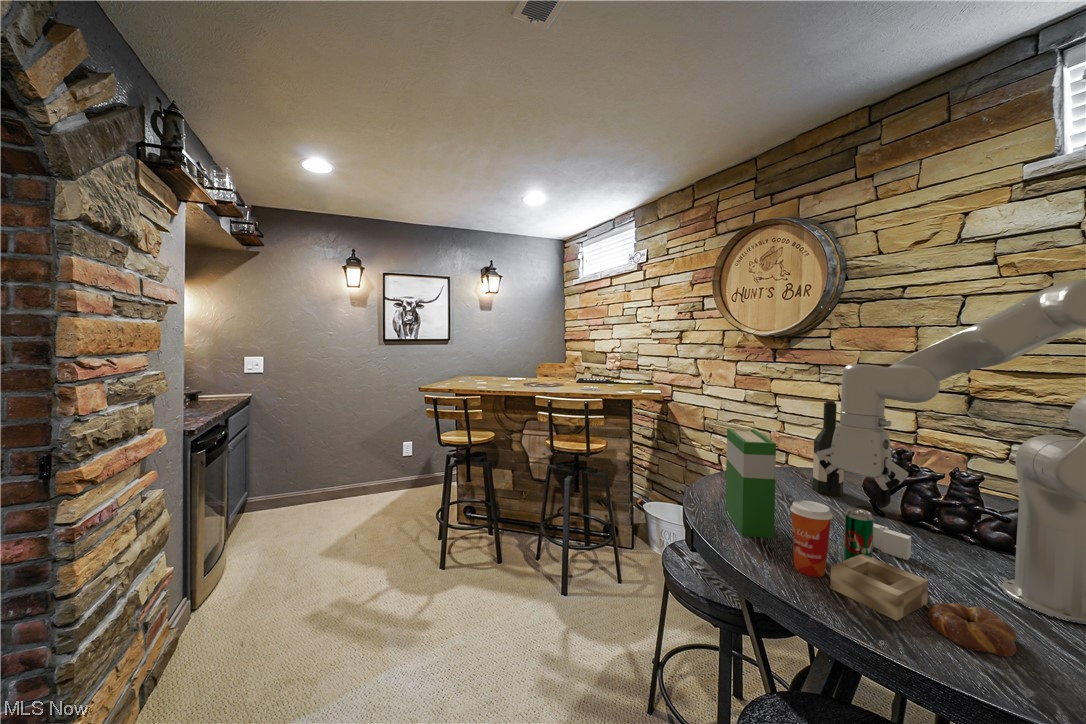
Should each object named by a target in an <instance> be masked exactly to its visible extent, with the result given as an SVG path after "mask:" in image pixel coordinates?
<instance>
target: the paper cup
mask: <svg viewBox="0 0 1086 724" xmlns="http://www.w3.org/2000/svg"><path fill="white" fill-rule="evenodd" d="M789 509H790V511H791V524H792V528H791V529H792V551H793V565H794V569H795V570H796V571H797V572H799V573H801V574H802V575H805V576H808V577H813V578H821V577H824V576H825V574H826V567H827V558H828V551H829V550H828V549H829V540H830V539H829V538H830V529H831V520H832V519H833V517H834V515H833V514H832V512H831V509H830V507H828V506H827V505H825V504H823V503H819V502H816V501H812V500H802V499H801V500H798V501H797V500H796V501H793V502H792V504H791V506H790V507H789Z"/></svg>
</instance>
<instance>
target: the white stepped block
mask: <svg viewBox="0 0 1086 724" xmlns="http://www.w3.org/2000/svg"><path fill="white" fill-rule="evenodd" d="M873 548H874V549H875V548H876V549H878V550H879V551H880V550H881V551H880V552H881V553H885V554H887V555H890V556H894V557H896V558H899V559H902V558H903V559H902V560H905V561H908V560H909V559H911V556H912V554H911V553H912V552H911V551H912V536H911V535H908V534H905V533H901V532H899V531H898V532H897V531H895V530H891V529H889V527H887V526H885V525H884V526H883V525H880V524H877V523H874V526H873Z"/></svg>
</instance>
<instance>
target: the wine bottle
mask: <svg viewBox="0 0 1086 724" xmlns="http://www.w3.org/2000/svg"><path fill="white" fill-rule="evenodd" d="M837 406H838V405H837V403H836V400H829V399H828V400H825V402H824V403H823V425H822V426H823V428H822V429H821V430H820V432H819V433H818V434H817V436H816V437H815V438H814V440H813V458H812V460H813V461H812V462H813V464H812V466H813V467H812V468H813V469H812V490H813V491H814V492H816V493H818V494H821V495H826V496H831V497H834V496H835V497H841V496H842V495H843V494H844V473H845V472H844V470H841V469H840V470H838V471H837V473H839V489H838V491H834V492H828V491H827V488H828V487H827V485H826V484H827V474H826V473H825V470H824V468H823V467H822V466H821V464H820V460H819V459H818V457H817V454H816V452H817V451H821V450H825V449H829V448H831V445H832V439H833V435H834V432H835V429H836V426H837V409H838V408H837ZM826 457H827V460H828V461H829V462H830V454H829V455H827V456H826Z"/></svg>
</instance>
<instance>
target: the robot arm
mask: <svg viewBox="0 0 1086 724" xmlns="http://www.w3.org/2000/svg"><path fill="white" fill-rule="evenodd" d="M1084 329H1086V278H1082V279H1081V278H1080V279H1077V280H1072V281H1067V282H1061V283H1056V284H1054V285H1051V286H1048V287H1046V288H1044V289H1042V290H1040V291H1038V292H1036V293H1034V294H1032V295H1030V296H1028V297H1026V298H1024V299H1022V300H1020V301H1018V302H1017V303H1014V304H1012V305H1010V306H1009V307H1007V308H1005V309H1003V310H1001V311H1000V312H997V313H996V314H993V315H991V316H989V317H988V318H985V319H983V320H981V321H979V322H978V323H975V324H973V325H972V326H969V327H967V328H965V329H963V330H961V331H958V332H957V333H954V334H952V335H950V336H948V337H947V338H943V339H942V340H939V341H937V342H936V343H933V344H931V345H929V346H927V347H924V348H922V349H920V350H918V351H916V352H913V353H912V354H910V355H908V356H906V357H904V358H902V359H901V360H899V361H897V362H895V363H893V364H892V365H889V366H888V367H887V366H886V367H884V366H881V365H876V364H863V363H862V364H861V363H860V364H859V363H857V364H856V363H853V364H847V365H846V366H844V368H843V371H842V380H841V381H842V382H841V383H842V384H841V398H840V399H841V401H840V412H839V423H838V424H837V423H836V429H835V432H834V435H833V439H832V445H831V448H829V449H825V450H821V451H817V452H816V454H817V457H818V459H819V460H820V464H821V466H822V467H823V468H824V470H825V473H826V474H827V484H826V485H827V487H828V488H827V491H828V492H834V491H838V489H839V473H837V471H838V470H840V469H841V470H844V471H845V472H849V473H853V474H856V475H860V476H865V477H867V478H872V479H874V480H875V482H876V483H877V484H878V486H879V488H878V489H877V490H876V500H875V501H876V502H875V503H876V504H875V506H876V507H877V508H878V509H883V508H886V507H888V506H889V505H890V503H891V496H892V489H894V488H896V487H898V486H899V485H901V484H903V482H904V481H905V480H906V479H907V477H908V476H909V472H908V471H907V470H906V469H904V468H902V467H901V466H899V465H898V464H896V463H895V462H893V460H892V448H891V440H890V433H889V431H888V430H885V429H884V428H885V427H888V428H891V426H892V421H891V420H890V419H889V420H888V419H886V416H885V407H886V406H885V405H886V400H893V401H898V402H904V403H909V404H921V403H926V402H928V401H931V400H932V399H934V398H935V397H936V396H937V395H938V394H939V392H940V389H941V383H940V382H942V381H944V380H946V379H949V378H952V377H953V376H956V375H959V374H962V373H966V372H969V371H973V370H978V369H979V370H980V369H984V368H990V367H994V366H999V365H1002V364H1005V363H1009V362H1011V361H1013V360H1015V359H1017V358H1020V357H1022V356H1023V355H1026V354H1028V353H1029V352H1031V351H1033V350H1036V349H1038V348H1040V347H1042V346H1045V345H1046V344H1049V343H1051V342H1054V341H1055V340H1057V339H1060V338H1062V337H1064V336H1066V335H1068V334H1071V333H1073V332H1075V331H1077V330H1084ZM1068 415H1069V421H1070V424H1071V425H1072V427H1074V428H1075V429H1076V430H1077V431H1079V432H1080V433H1082V434H1084V435H1085V436H1084V437H1083V438H1081V439H1076V438H1073V437H1069V436H1067V435H1066V436H1065V435H1058V434H1041V435H1037V436H1034V437H1031V438H1028V439H1027V440H1026V441H1024V442H1022V444H1020V446H1019V447H1018V449H1017V451H1016V453H1015V454H1016V455H1015V471H1016V472H1015V473H1016V479H1017V484H1018V485H1017V486H1018V512H1017V513H1018V514H1017V524H1016V526H1017V528H1016V529H1017V530H1016V545H1015V546H1016V547H1015V548H1016V549H1015V567H1014V568H1015V569H1014V579H1008V580H1005V581H1003V582H1002V588H1001V589H1002V591H1003V593H1004V594H1005V595H1006V594H1007V595H1008V596H1009V597H1008V596H1007V595H1006V596H1007V597H1008V598H1009V599H1011V598H1012V599H1013V601H1014V600H1015V601H1017V602H1019V603H1021V604H1023V605H1025V606H1027V607H1030V608H1032V609H1034V610H1037V611H1039V612H1042V613H1044V614H1047V615H1050V616H1055V617H1061V618H1066V619H1070V620H1075V621H1082V622H1086V393H1085V394H1084V395H1083V396H1081V397H1080V398H1079V399H1078V400H1077V401H1075V403H1074V405H1072V407H1071V409H1070V411H1069V414H1068ZM829 454H830V462H829V461H828V460H827V457H826V456H827V455H829ZM891 473H894V474H895V476H894V478H892V479H891V478H889V475H891ZM1012 599H1011V600H1012ZM1015 601H1014V602H1015ZM1017 602H1016V603H1017ZM1019 603H1018V604H1019ZM1021 604H1020V605H1021ZM1023 605H1022V606H1023ZM1025 606H1024V607H1025ZM1027 607H1026V608H1027ZM1034 610H1033V611H1034ZM1039 612H1038V613H1039ZM1044 614H1043V615H1044ZM1047 615H1046V616H1047Z"/></svg>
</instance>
